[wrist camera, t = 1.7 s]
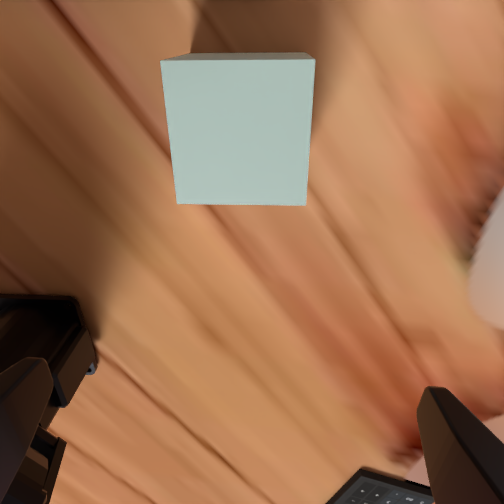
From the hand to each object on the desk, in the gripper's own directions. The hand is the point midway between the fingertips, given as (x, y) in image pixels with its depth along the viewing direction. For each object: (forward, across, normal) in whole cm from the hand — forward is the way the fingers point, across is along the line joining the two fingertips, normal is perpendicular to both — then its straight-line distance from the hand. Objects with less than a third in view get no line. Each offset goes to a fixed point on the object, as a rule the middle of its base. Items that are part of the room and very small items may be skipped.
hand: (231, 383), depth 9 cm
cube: (+12, +1, -4) cm, 13 cm away
